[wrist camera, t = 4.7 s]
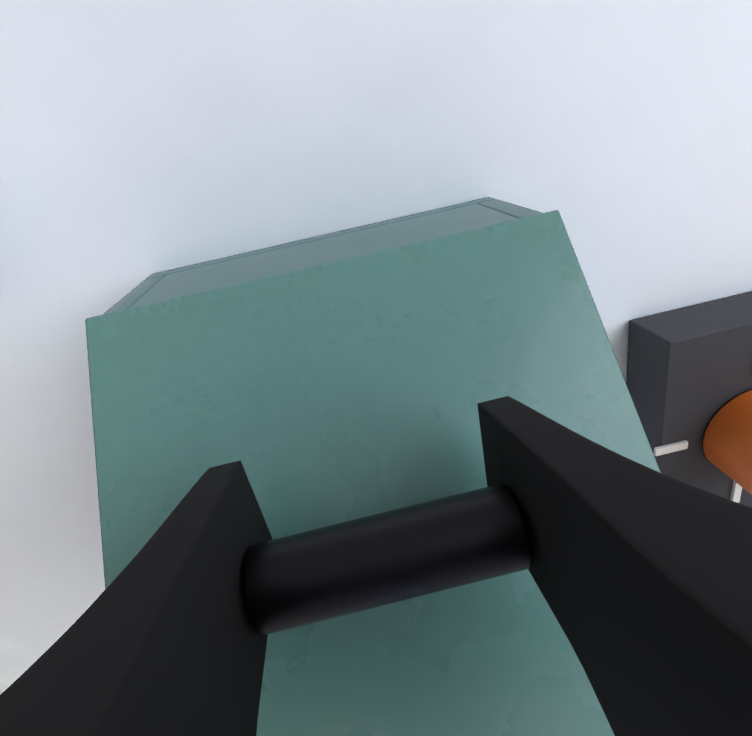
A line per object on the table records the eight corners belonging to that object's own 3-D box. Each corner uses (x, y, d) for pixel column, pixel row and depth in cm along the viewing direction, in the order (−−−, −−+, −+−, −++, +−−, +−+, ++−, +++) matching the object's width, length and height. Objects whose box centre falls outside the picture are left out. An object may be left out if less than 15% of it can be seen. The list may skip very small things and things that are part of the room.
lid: (741, 720, 10) (947, 851, 6) (143, 877, 9) (-11, 1114, 6) (551, 221, 13) (612, 115, 9) (98, 326, 12) (-21, 257, 9)
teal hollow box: (511, 449, 22) (559, 521, 18) (251, 513, 22) (237, 601, 18) (489, 196, 17) (549, 213, 13) (150, 274, 17) (96, 317, 12)
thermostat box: (767, 462, 25) (816, 496, 22) (615, 500, 24) (649, 538, 22) (807, 277, 20) (874, 295, 18) (622, 321, 20) (665, 345, 18)
